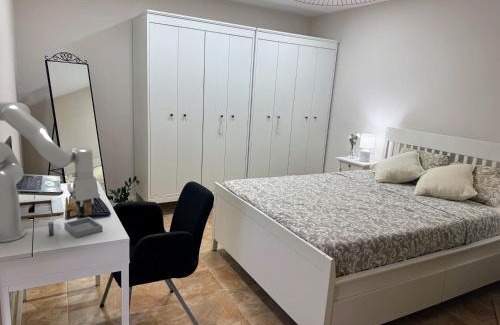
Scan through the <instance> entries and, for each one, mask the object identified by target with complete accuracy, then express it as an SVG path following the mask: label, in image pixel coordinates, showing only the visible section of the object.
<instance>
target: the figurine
mask: <svg viewBox="0 0 500 325" xmlns="http://www.w3.org/2000/svg"><path fill="white" fill-rule="evenodd" d="M66 184H67V185H66V186H67V192H69V193H73V186H72V184H71V182H69V181H68V182H67V183H66Z"/></svg>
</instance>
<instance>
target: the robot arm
mask: <svg viewBox="0 0 500 325" xmlns="http://www.w3.org/2000/svg"><path fill="white" fill-rule="evenodd" d="M0 121H5V123H6V124H8V125H9V126H10V127H11V128H13V129H14V130H16V131H17V132H18V133H19V134H21V135H22V137H24V138H25V139H26V140H27V141H29V142H30V144H31V146H33V148H34V149H35V150H36V151H37V153H38V154H39V155H40V156H41V157H42V158H43V159H45V160H46V161H48V162H49V163H50V164H52V165H53V166H54V167H56V168H59V169H60V168H61V169H64V168H67V167H68V166H70V165H71V164H72V163H74V173H73V174H71V177H72V178H73V182H72V187H73V192H72V196H71V200H70V201H71V202H72V203H75V204H77V205H79V212H80V213H81V214H84V206H83V201H84V200H89V201H90V202H91V206H92V213H93V211H94V204H95V202H96V201H97V199H99V198H100V197H101V195H100V193H99V187H98V182H97V178H96V176H94V162H93V161H94V160H93V150H92V148H89V147H72V146H71V147H70V146H63V147H60V146H58V145H57V144H56V143H55V141H53V140H52V138H51V137H50V135H49V133H48V130H47V128H46V126H44V124H42V123H41V122H40V121H38V119H37V118H35V117H34V116H32V114H31V109H30V107H28V105H27V104H25V103H22V102H18V101H17V102H15V101H14V102H13V101H1V100H0ZM23 177H24V170H23V167H22V165H21V163H20V162H19V160H18V158H17V156H16V155H15V152H14V151H13V149H12V148H11V146H10V145H8V144H7V143H5V142H3V141H0V243H8V242H14V241H17V240H19V239H21V238H24V237H25V236H26V235H27V232H26V229H25V228H23V227H22V218H21V206H20V196H19V191H18V188H17V184H18V183H19V182H20V181H21V180H22V179H23ZM75 199H76V200H77V201H76V200H75Z"/></svg>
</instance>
